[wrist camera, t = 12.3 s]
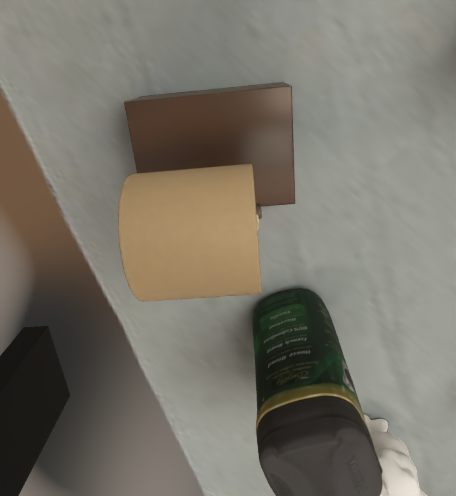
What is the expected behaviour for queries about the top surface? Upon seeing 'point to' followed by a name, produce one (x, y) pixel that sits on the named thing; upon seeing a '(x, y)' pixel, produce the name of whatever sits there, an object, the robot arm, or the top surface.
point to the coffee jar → (308, 403)
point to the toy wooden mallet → (190, 233)
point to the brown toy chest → (219, 135)
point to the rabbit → (393, 461)
